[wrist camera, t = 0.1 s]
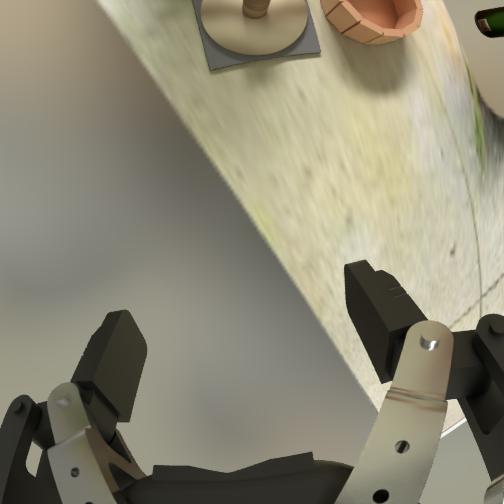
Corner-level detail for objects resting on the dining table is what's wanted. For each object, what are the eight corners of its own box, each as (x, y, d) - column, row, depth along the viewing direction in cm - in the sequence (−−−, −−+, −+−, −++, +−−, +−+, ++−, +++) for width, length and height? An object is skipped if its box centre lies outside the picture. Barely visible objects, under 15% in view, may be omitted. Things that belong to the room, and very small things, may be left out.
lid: (192, -17, 24) (184, -39, 18) (292, -31, 23) (303, -54, 17) (213, 65, 30) (208, 54, 24) (316, 48, 29) (333, 36, 23)
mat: (188, -17, 24) (188, -18, 24) (294, -33, 24) (295, -34, 23) (210, 70, 31) (209, 70, 30) (320, 52, 30) (321, 51, 29)
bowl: (310, -28, 24) (322, -46, 19) (387, -22, 23) (406, -35, 18) (332, 44, 29) (349, 34, 24) (408, 46, 29) (431, 40, 23)
